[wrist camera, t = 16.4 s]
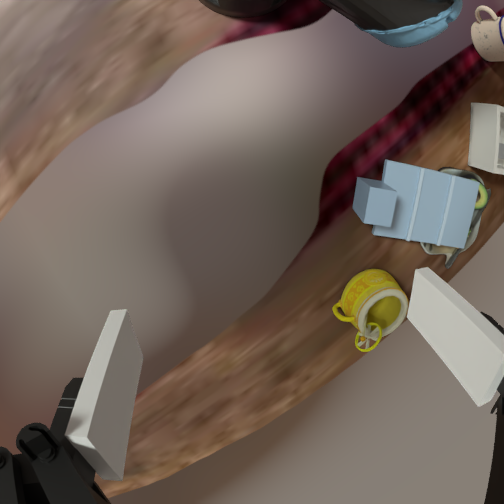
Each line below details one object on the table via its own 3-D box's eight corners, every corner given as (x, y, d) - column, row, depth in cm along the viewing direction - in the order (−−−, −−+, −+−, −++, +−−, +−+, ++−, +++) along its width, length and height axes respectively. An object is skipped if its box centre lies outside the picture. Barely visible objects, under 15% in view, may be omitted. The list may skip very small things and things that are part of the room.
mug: (391, 257, 54) (428, 290, 43) (390, 308, 58) (420, 345, 47) (325, 274, 53) (352, 314, 42) (328, 326, 58) (352, 369, 47)
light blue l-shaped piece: (359, 154, 46) (374, 160, 38) (474, 180, 45) (501, 191, 37) (347, 227, 51) (358, 247, 43) (458, 244, 50) (482, 264, 42)
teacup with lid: (503, 48, 39) (543, 47, 28) (488, 71, 41) (531, 71, 30) (470, 1, 35) (511, -9, 24) (453, 21, 37) (496, 12, 26)
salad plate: (468, 263, 58) (481, 273, 53) (405, 265, 55) (418, 277, 51) (488, 175, 50) (503, 180, 46) (424, 161, 48) (440, 166, 43)
